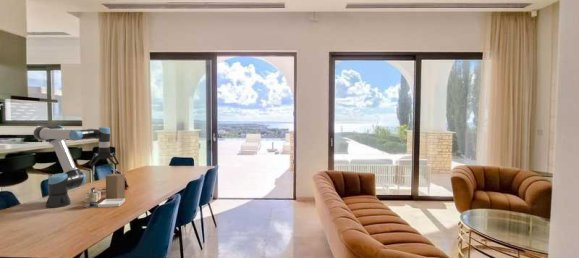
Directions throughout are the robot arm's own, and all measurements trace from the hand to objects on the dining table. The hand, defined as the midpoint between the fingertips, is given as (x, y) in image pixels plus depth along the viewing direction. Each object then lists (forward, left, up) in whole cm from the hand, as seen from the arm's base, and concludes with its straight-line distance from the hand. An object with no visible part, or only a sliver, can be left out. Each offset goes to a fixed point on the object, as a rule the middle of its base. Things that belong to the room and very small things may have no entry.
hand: (104, 173), depth 240 cm
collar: (-6, -6, -19) cm, 21 cm away
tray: (+7, -3, -23) cm, 24 cm away
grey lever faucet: (-6, -6, -23) cm, 25 cm away
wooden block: (+4, +14, -24) cm, 28 cm away
